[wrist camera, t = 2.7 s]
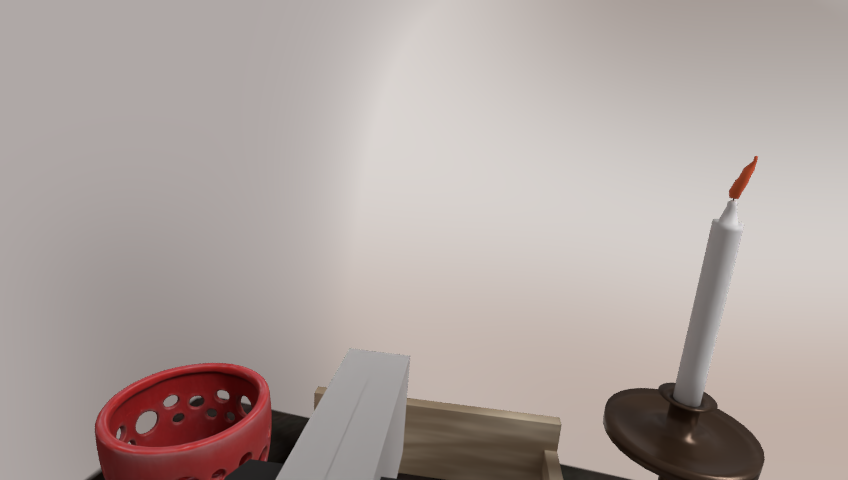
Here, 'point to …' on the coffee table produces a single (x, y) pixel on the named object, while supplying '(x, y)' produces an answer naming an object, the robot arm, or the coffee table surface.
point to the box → (476, 442)
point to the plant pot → (185, 425)
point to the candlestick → (692, 385)
